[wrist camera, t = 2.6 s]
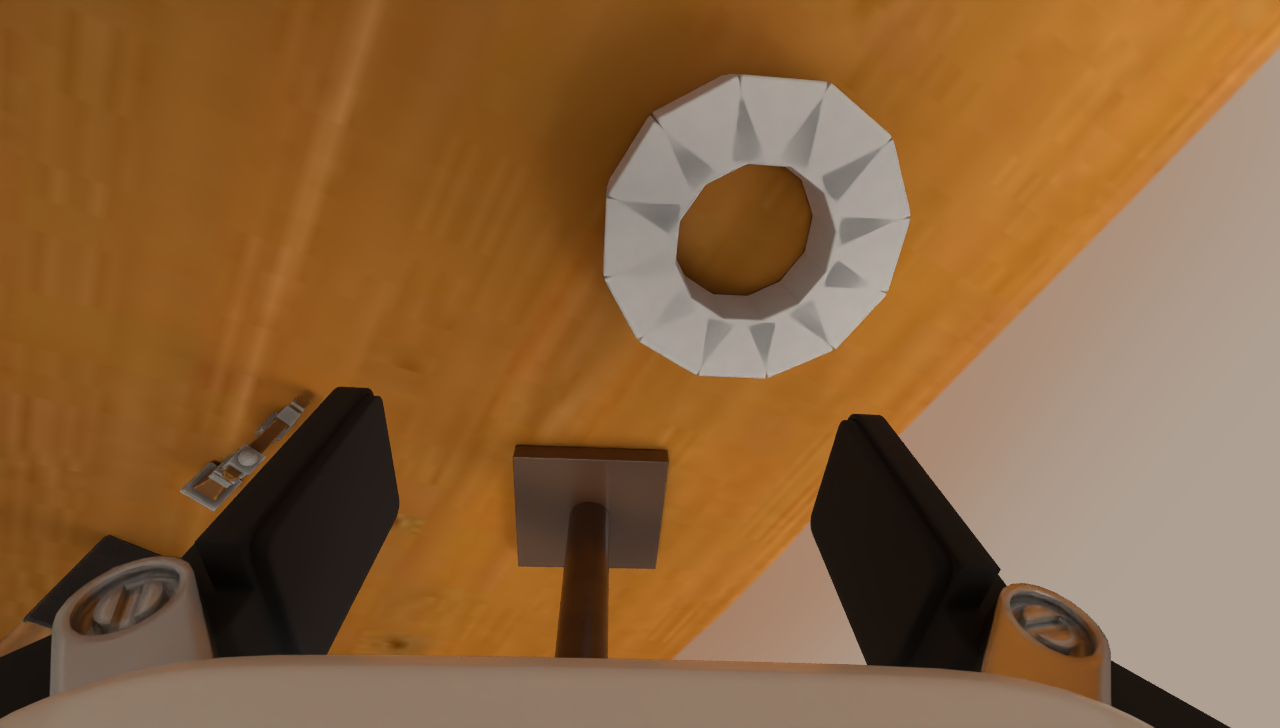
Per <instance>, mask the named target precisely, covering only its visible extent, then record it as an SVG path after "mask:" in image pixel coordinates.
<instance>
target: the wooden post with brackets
mask: <svg viewBox="0 0 1280 728" xmlns="http://www.w3.org/2000/svg"><path fill="white" fill-rule="evenodd" d="M309 404H310V403H309V402H308V401H306V400H305V399H304V398H302V397H301V396H298V397H296V398H295V399H294V400H293V401H292V402H291V403H290V404H289V405H288V406H286V407H285V408H284V409H283V410H282V411H281V412H280V413H278V412H276V411H275V412H274V413H273V414H272V415H271V416H270V417H269V418H268V419H267V420H266V421H265V422H264V423H263V424H262V425H261V426H260V427H259V429H258V430H257V431H256V432H255V433H256V434H257V435H259V436H258V437H257V438H256V439H255V440H254V441H253V442H252V443H251V444H250V445H249V446H248V445H246V444H245V445H244V446H243V447H242V448H241V449H238V450H237V451H236V452H235V453H234V454H231V455H230V456H229V457H228V458H227V459H226V460H224V461H223V462H222V463H221V464H220V465H219V466H217V465H215V464H214V463H212V462H211V463H210V462H209V463H208V464H207V465H206V466H205V467H204V468H203V469H202V470H201V471H200V472H199V473H198V474H197V475H196V476H195V477H194V478H193V479H192V480H191V481H190V482H189V483H188V484H187V485H186V486H185V487H184V488H183V489H182V490H180V492H182V493H183V494H185V495H187V496H188V497H190V498H192V499H194V500H195V501H197V502H199V503H200V504H202V505H204V506H206V507H207V508H209V509H211V510H212V511H215V510H216V509H217V508H218V507H219V506H220V505H221V504H222V502H223V501H224V500H225V499H226V498H227V497H228V496H229V495H230V494H231V493H232V492H233V491H234V490H235V489H236V488H237V487H238V486H239V485H240V484H241V483H242V481H241V480H239V479H240V478H241V479H242V478H243V477H244V476H246V475H247V474H248V475H249V474H250V473H251V472H252V471H253V470H254V469H255V468H256V467H257V466H258V465H259V463H260V462H261V461H262V460H263V459H264V458H265V456H264V455H262V454H261V453H262V452H263V451H264V450H265V449H266V448H267V447H268V446H269V445H270V444H273V443H274V442H275V441H276V440H278V441H279V440H280V439H281V438H282V437H283V436H284V435H285V433H286V432H287V431H288V430H289V429H290V428H291V427H292V426H293V425H294V424H293V423H294V422H295V421H296V420H297V419H298V418H299V417H300V413H302V412H303V411H304V410H305V408H306V407H307V406H308V405H309Z"/></svg>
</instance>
